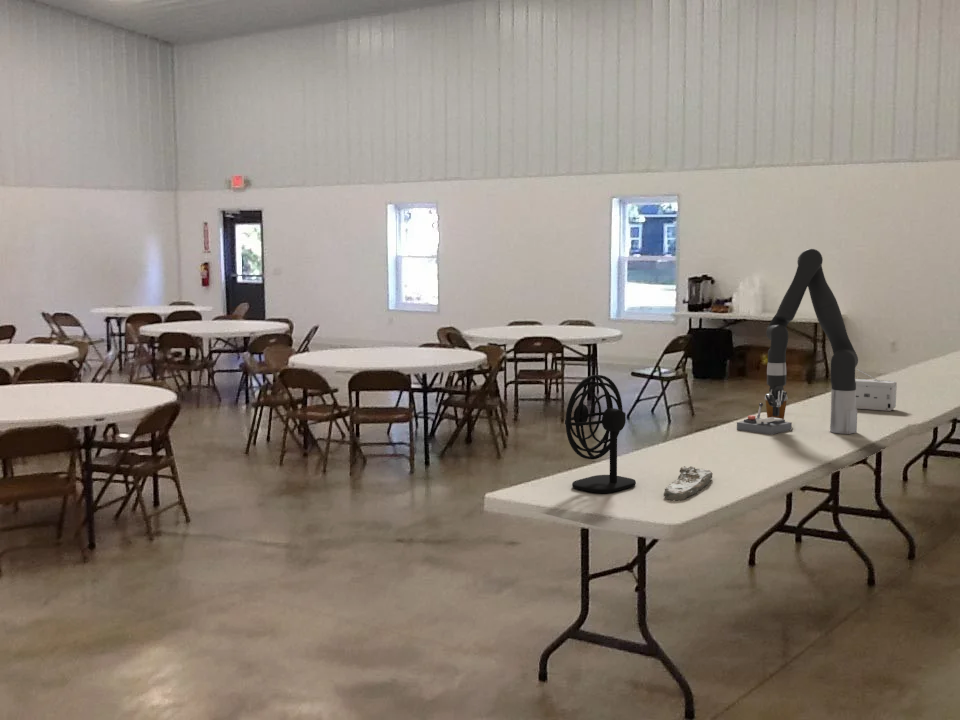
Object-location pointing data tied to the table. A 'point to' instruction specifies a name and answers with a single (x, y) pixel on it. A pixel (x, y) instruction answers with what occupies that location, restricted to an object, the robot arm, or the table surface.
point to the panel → (764, 426)
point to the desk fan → (611, 423)
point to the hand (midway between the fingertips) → (776, 415)
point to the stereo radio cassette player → (875, 394)
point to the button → (751, 417)
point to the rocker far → (765, 420)
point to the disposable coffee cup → (770, 409)
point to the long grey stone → (687, 483)
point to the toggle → (759, 410)
